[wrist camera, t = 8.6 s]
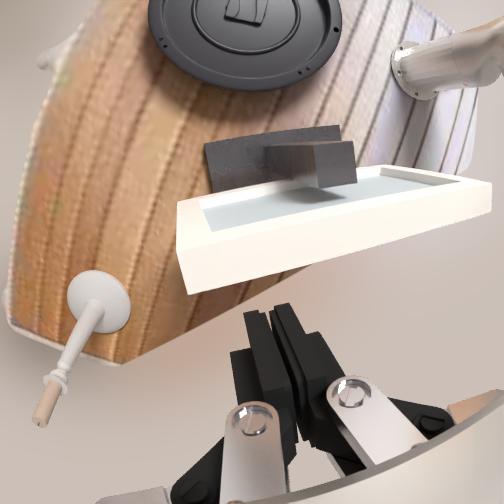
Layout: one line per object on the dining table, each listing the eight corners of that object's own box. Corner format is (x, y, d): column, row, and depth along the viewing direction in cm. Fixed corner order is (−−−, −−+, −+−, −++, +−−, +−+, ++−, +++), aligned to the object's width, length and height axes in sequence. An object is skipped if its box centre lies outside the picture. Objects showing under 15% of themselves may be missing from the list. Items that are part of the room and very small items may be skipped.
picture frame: (383, 164, 42) (491, 183, 23) (385, 183, 43) (491, 211, 24) (177, 201, 37) (176, 251, 18) (182, 224, 38) (188, 295, 19)
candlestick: (117, 263, 49) (49, 380, 21) (140, 325, 54) (109, 459, 26) (58, 277, 48) (-27, 382, 20) (83, 335, 53) (31, 454, 25)
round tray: (134, 85, 41) (316, 115, 47) (125, 77, 35) (330, 111, 41) (178, -52, 32) (337, -20, 38) (176, -69, 26) (350, -33, 32)
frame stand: (335, 125, 47) (422, 118, 26) (342, 176, 51) (428, 200, 29) (204, 143, 45) (206, 138, 24) (214, 199, 49) (225, 240, 27)
